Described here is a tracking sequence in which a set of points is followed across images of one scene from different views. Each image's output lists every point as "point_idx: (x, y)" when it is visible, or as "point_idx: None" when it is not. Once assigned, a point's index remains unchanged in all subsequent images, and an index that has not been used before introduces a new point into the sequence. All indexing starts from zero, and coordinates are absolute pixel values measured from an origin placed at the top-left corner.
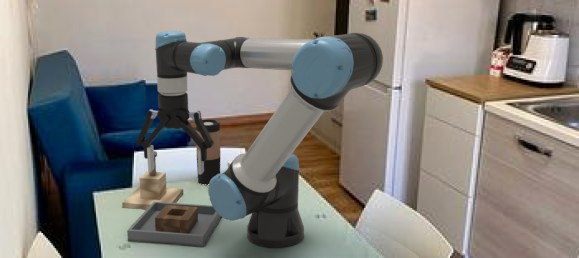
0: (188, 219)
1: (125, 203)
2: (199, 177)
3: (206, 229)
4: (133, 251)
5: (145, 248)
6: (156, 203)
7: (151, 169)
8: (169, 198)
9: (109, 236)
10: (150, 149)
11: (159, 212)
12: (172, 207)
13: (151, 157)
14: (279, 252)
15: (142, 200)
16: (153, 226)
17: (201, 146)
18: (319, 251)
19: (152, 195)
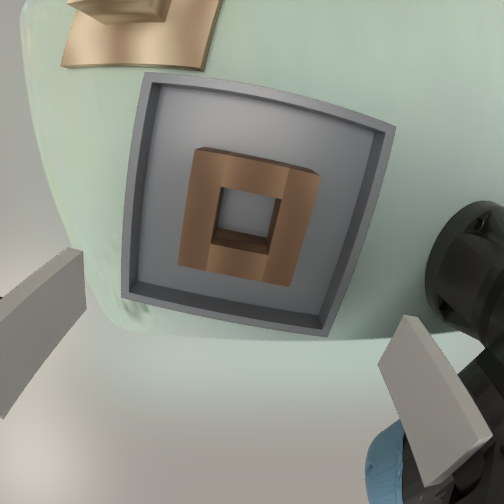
0: (290, 282)
1: (68, 65)
2: None
3: (340, 301)
4: (162, 330)
5: (184, 320)
6: (155, 82)
7: (80, 306)
8: (196, 7)
9: (84, 254)
10: (6, 400)
11: (174, 100)
12: (223, 175)
13: (37, 345)
14: (454, 331)
15: (110, 36)
16: (174, 210)
17: (456, 502)
18: None
19: (135, 17)
